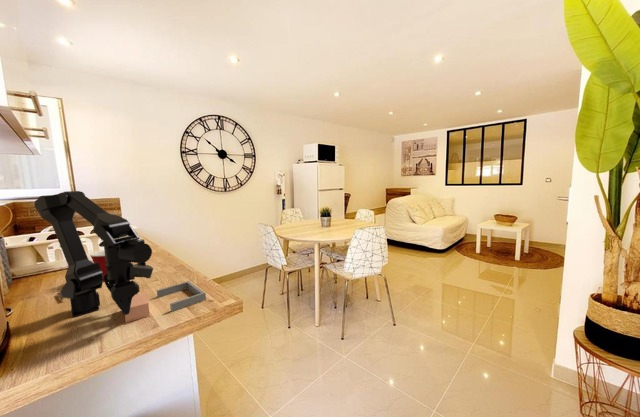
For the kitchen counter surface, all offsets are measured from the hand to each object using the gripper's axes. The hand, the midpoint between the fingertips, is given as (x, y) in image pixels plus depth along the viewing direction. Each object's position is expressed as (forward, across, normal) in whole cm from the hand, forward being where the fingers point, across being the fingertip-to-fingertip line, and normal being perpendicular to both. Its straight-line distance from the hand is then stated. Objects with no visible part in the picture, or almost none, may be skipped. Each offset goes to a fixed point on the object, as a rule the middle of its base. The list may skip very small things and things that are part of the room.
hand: (123, 309), depth 79 cm
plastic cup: (+3, +45, -1) cm, 45 cm away
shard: (+3, +35, +10) cm, 37 cm away
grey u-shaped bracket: (+3, 0, -16) cm, 17 cm away
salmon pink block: (+3, 0, -3) cm, 4 cm away
